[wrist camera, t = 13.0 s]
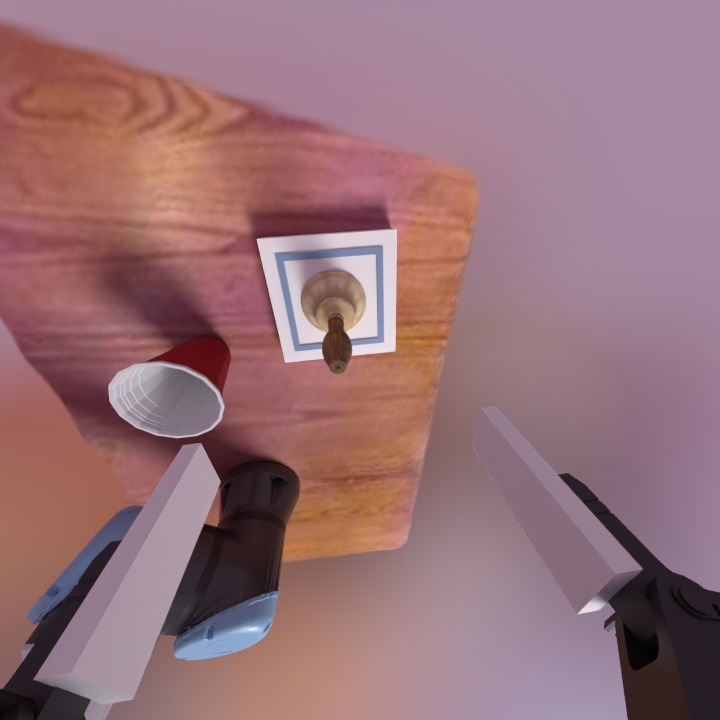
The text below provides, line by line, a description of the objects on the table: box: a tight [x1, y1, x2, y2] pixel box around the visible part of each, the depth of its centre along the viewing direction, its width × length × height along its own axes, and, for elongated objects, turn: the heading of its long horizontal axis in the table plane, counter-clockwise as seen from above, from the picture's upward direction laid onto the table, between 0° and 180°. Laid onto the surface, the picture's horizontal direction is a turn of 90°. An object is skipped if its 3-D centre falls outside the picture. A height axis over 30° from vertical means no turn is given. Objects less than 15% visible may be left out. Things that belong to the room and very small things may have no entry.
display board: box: [257, 229, 397, 363], centre depth 34 cm, size 16×16×3 cm
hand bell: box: [301, 270, 366, 374], centre depth 26 cm, size 8×8×16 cm
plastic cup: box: [108, 336, 231, 438], centre depth 32 cm, size 11×11×12 cm
